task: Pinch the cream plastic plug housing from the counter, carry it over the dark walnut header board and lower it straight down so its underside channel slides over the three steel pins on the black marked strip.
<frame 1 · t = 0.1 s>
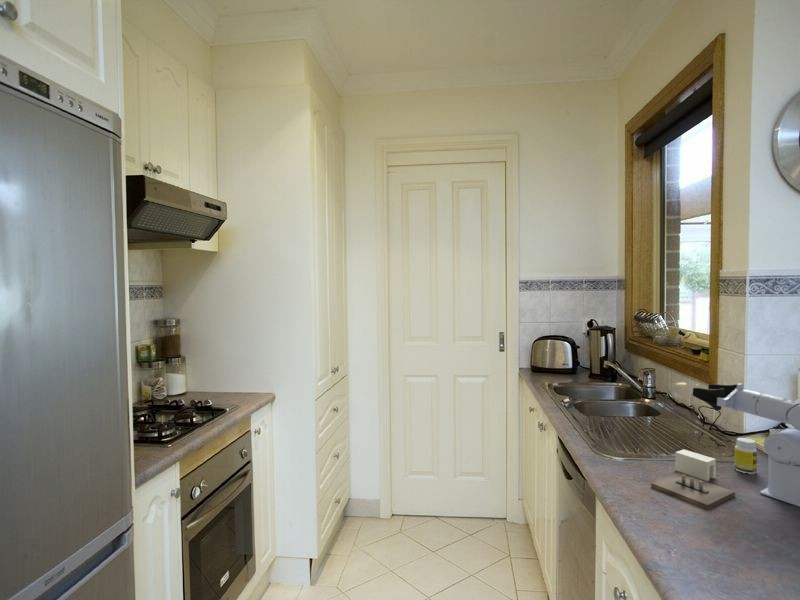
hand: (701, 389, 122), 22 cm above the worktop, fingers open, 7 cm apart
plug housing: (695, 474, 120), on the worktop
supplement bottle: (745, 471, 121), on the worktop
pin board: (691, 491, 110), on the worktop
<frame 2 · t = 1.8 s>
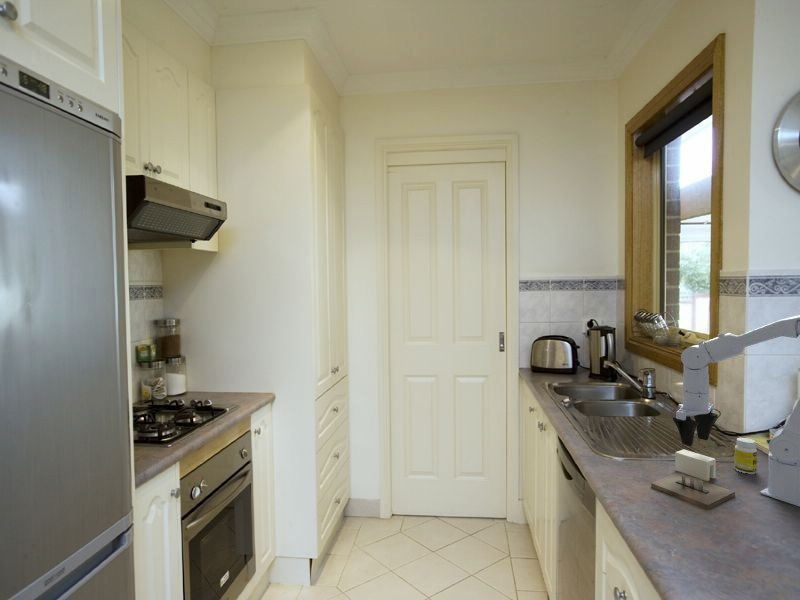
hand: (695, 442, 119), 9 cm above the worktop, fingers open, 7 cm apart
nothing on the worktop moved.
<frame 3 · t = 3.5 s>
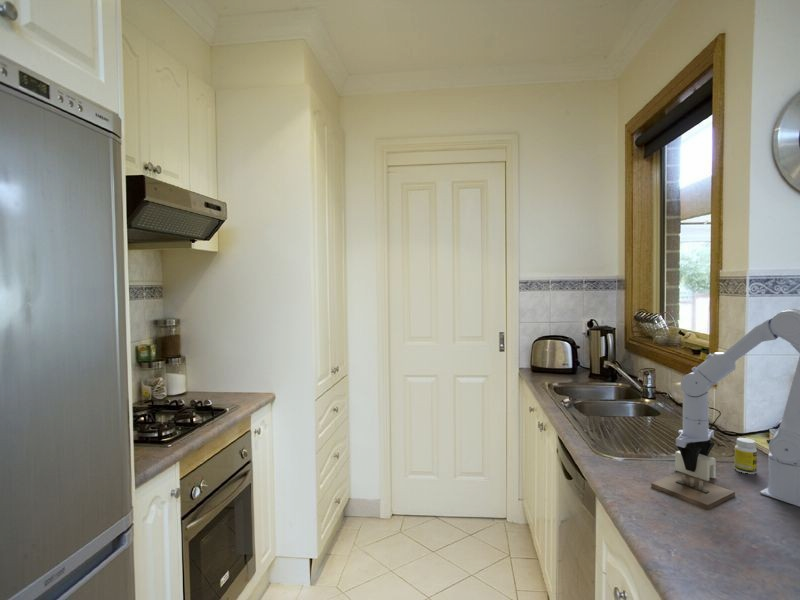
hand: (695, 468, 119), 1 cm above the worktop, fingers closed on plug housing, 4 cm apart
plug housing: (695, 473, 120), on the worktop, touching gripper
everything else where it was.
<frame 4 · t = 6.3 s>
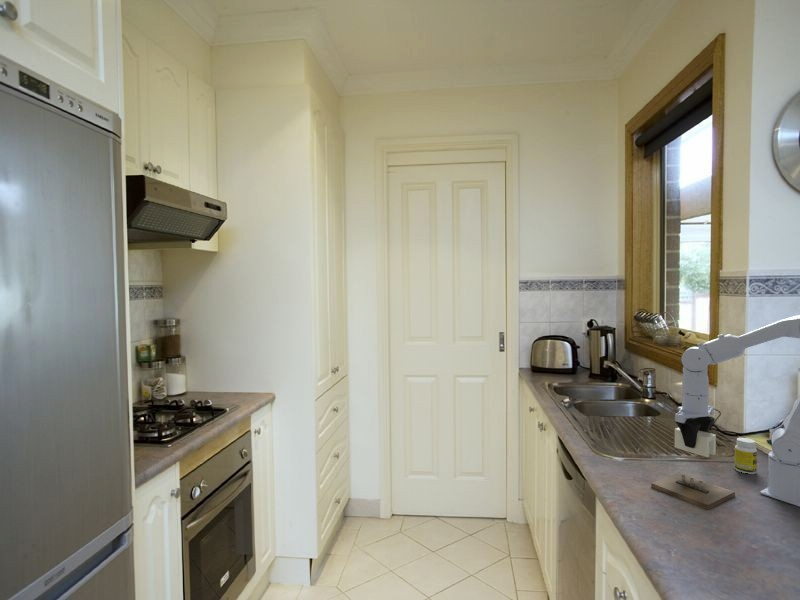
hand: (694, 445, 117), 8 cm above the worktop, fingers closed on plug housing, 4 cm apart
plug housing: (694, 450, 117), point 7 cm above the worktop, touching gripper
everything else where it was.
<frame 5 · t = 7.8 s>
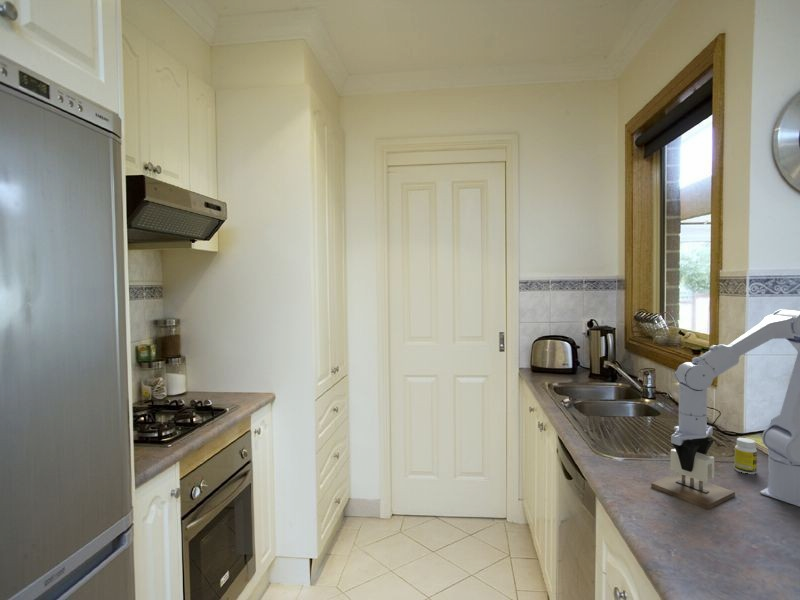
hand: (692, 468, 110), 6 cm above the worktop, fingers closed on plug housing, 4 cm apart
plug housing: (691, 473, 110), point 4 cm above the worktop, touching gripper
everything else where it was.
when the fingers open (3 cm above the worktop, at t = 9.1 s): plug housing stays where it is, resting on pin board.
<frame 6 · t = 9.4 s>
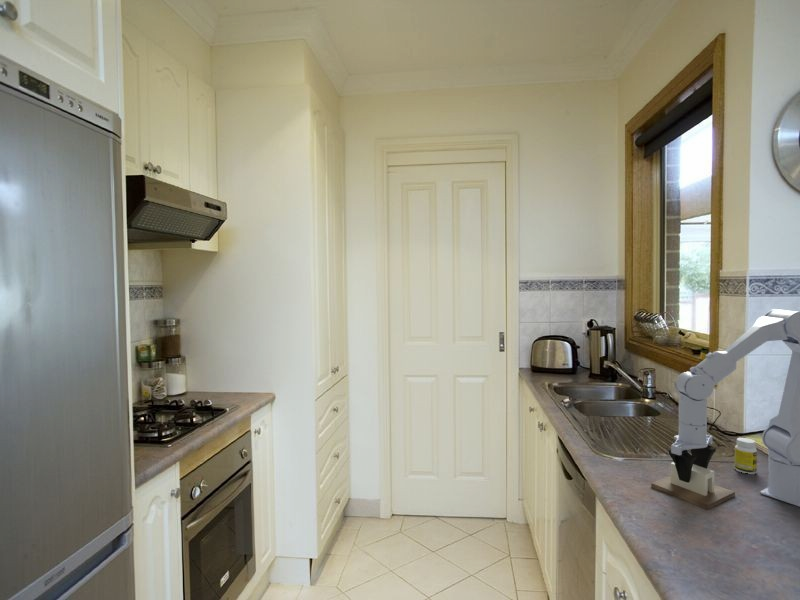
hand: (692, 477, 110), 3 cm above the worktop, fingers open, 6 cm apart
plug housing: (691, 487, 110), point 1 cm above the worktop, touching pin board
everything else where it was.
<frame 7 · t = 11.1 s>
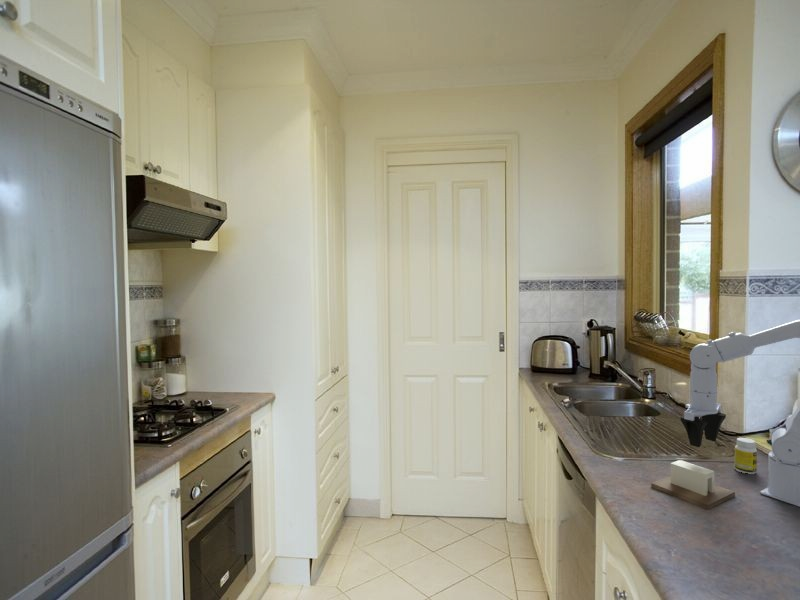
hand: (703, 443, 116), 9 cm above the worktop, fingers open, 7 cm apart
nothing on the worktop moved.
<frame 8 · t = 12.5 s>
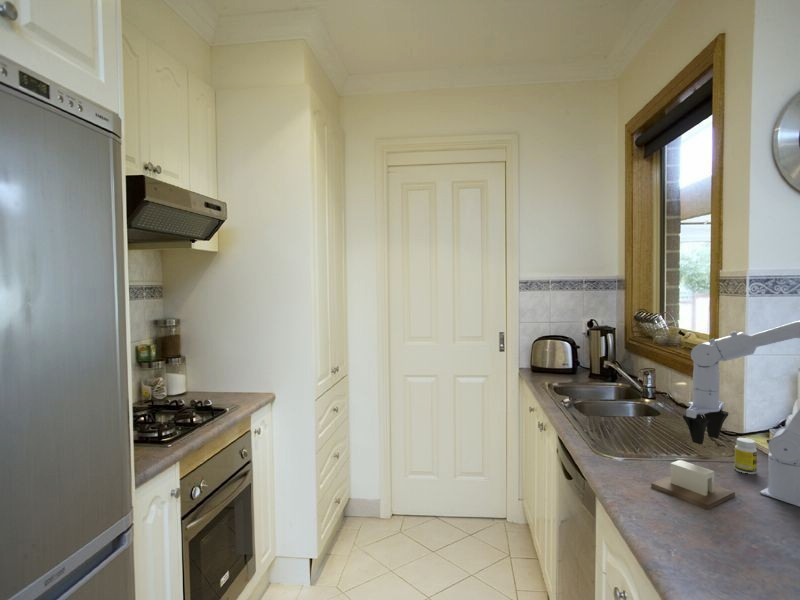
hand: (705, 440, 118), 9 cm above the worktop, fingers open, 7 cm apart
nothing on the worktop moved.
at the end: plug housing 0.0 cm off-centre on the pin board, point 1.0 cm above the pin board's base; plug housing tilted 0°; the gripper is holding nothing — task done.
